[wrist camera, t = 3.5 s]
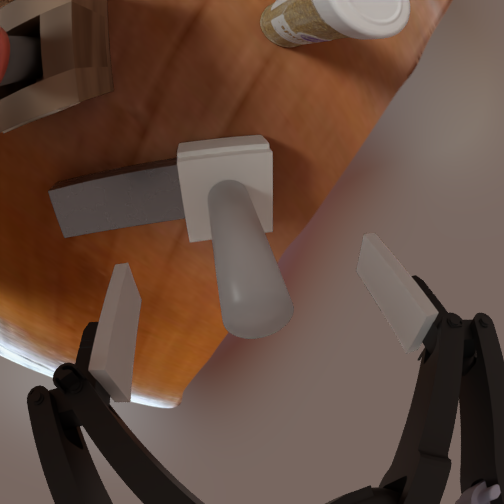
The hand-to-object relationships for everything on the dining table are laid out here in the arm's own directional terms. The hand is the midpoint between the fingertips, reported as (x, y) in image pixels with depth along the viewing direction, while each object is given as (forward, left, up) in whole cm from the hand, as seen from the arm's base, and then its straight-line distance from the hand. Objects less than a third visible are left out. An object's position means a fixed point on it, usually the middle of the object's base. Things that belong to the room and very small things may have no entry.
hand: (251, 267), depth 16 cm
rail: (-6, 0, -13) cm, 14 cm away
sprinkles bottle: (+6, +14, -13) cm, 20 cm away
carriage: (0, 0, -13) cm, 13 cm away
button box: (-13, +14, -13) cm, 23 cm away
